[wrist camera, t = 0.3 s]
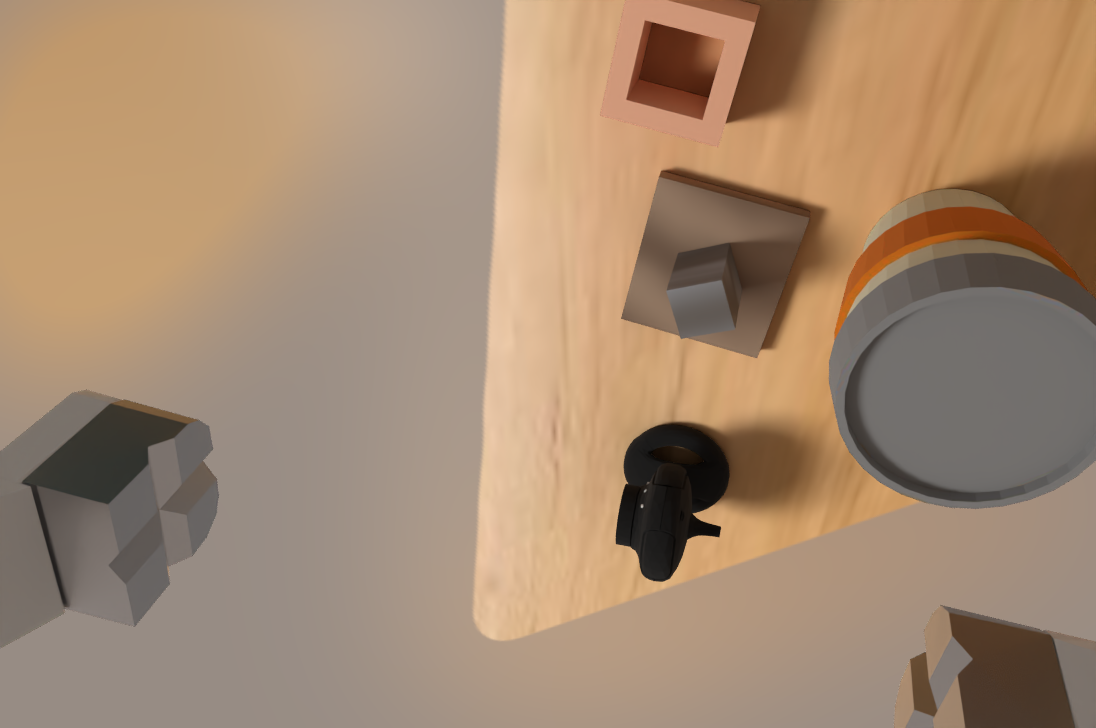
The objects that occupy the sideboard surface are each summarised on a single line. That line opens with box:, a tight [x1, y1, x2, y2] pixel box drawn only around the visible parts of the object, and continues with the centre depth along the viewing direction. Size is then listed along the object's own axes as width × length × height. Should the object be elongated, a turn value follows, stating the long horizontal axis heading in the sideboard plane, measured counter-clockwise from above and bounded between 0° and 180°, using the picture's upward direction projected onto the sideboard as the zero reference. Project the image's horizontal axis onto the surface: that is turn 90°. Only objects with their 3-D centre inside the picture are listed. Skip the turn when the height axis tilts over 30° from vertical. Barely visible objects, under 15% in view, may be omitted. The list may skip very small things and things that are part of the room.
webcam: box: [616, 425, 729, 582], centre depth 63 cm, size 8×8×10 cm
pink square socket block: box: [600, 0, 760, 147], centre depth 50 cm, size 7×7×4 cm
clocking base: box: [621, 171, 810, 358], centre depth 56 cm, size 10×9×6 cm
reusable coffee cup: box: [829, 189, 1096, 509], centre depth 48 cm, size 13×13×15 cm
